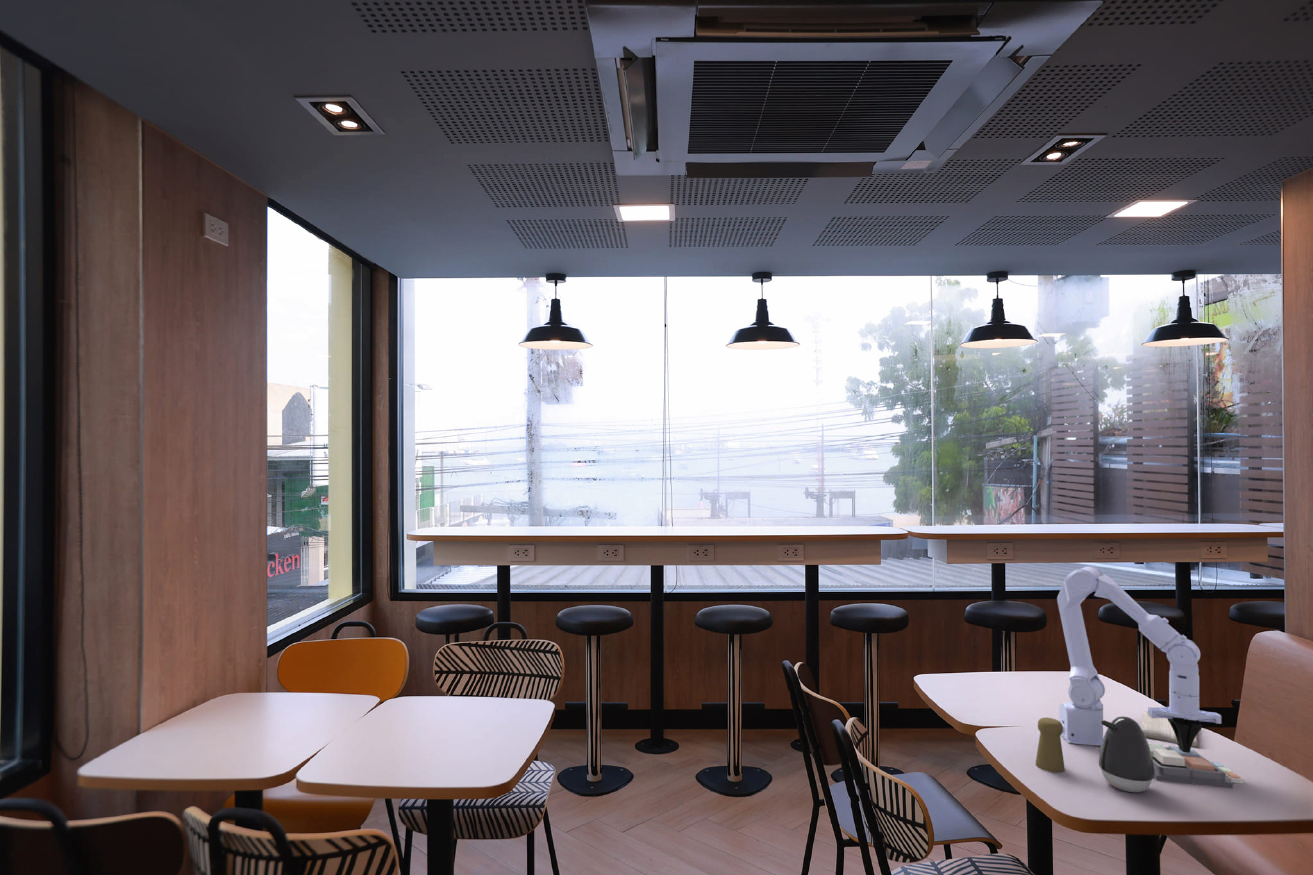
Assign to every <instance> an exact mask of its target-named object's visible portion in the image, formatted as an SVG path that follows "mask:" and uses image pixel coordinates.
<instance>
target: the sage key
mask: <svg viewBox="0 0 1313 875" xmlns="http://www.w3.org/2000/svg"><path fill="white" fill-rule="evenodd" d="M1148 744H1149V747H1150V751H1151V754H1152V755H1153V749H1164V750H1167V749H1166V748H1164V747H1165V746H1163V745H1162V744H1151V743H1148Z"/></svg>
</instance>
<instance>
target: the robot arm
mask: <svg viewBox="0 0 1313 875" xmlns="http://www.w3.org/2000/svg"><path fill="white" fill-rule="evenodd" d="M1093 592H1095V593H1094V594H1093V596H1094V597H1097V598H1103V599H1107V600H1109V601H1111V602H1112V603H1113V604H1115V605H1116V606H1117V607H1118V608H1119V609H1120V610H1122V611H1123V612H1124V613H1126V614H1127V615H1128V616H1129V617H1130V618H1131V619H1132V620H1134V621H1135V622H1136V623H1137V625H1138V631H1139V632H1140V633H1142V635H1143V636H1144V637H1145V638H1147V639H1148V640H1149V641H1150V642H1151V643H1153V645H1154V646H1155V647H1157V648H1158V649H1159V650H1160V651H1161V652H1163V653H1166V659H1167V661H1168V662H1169V671H1168V675H1169V677H1168V681H1169V682H1168V685H1169V686H1168V687H1169V688H1168V691H1169V692H1168V694H1169V696H1168V697H1169V700H1168V701H1169V703H1168V705H1169V706H1165V707H1164V706H1162V707H1161V706H1159V707H1149V706H1148V708H1147V712H1148V715H1149V716H1150V717H1151V718H1167V719H1168V721H1169V723H1170V725H1171V726H1172V728H1173V731H1174V733H1175V736H1176V738H1177V742H1178V746H1177V747H1179V749H1180V750H1181V751H1183V752H1190V749H1192V743H1193V741H1194V739H1195V737H1196V735H1198V734H1199V732H1200V731H1201V730H1202V726H1203V725H1202V723H1201V722H1207V723H1215V724H1218V725H1219V724H1220V725H1221V724H1222V715H1221V714H1219V713H1217V712H1213V711H1212V712H1211V711H1205V710H1200V675H1199V673H1200V671H1199V670H1200V669H1199V664H1198V662H1199V661H1200V659H1201V651H1200V649H1199V648H1200V647H1199V646H1197V645H1196V643H1195V642H1194V641H1193V640H1190V639H1188V638H1187V636H1185V635H1184V634H1182V635H1181V634H1180V633H1179V632H1178V631H1177V630H1176V629H1175V628H1173V627H1172V626H1171V625H1170V624H1169V620H1168V619H1167V618H1166V617H1163V618H1162V617H1161V616H1159V615H1157V614H1149V613H1148V612H1147V611H1146V610H1145V609H1144V608H1143V607H1142V606H1140V604H1138V602H1137V601H1136V600H1134V598H1132V597H1131V596H1130V595H1129V594H1128V593H1127V592H1126V591H1125V590H1124V589H1123V588H1122V587H1121V586H1120V585H1118V584H1117V583H1116V581H1114V580H1113V579H1112V578H1111V577H1110V576H1108V575H1107V574H1104V573H1103V571H1101V569H1100V568H1098V567H1096V566H1094V565H1093V566H1092V565H1086V566H1083V567H1081V568H1078V569H1075V570H1073V571H1071V573H1069V574H1067V576H1066V577H1064V580H1063V584H1062V586H1061V588H1060V590H1059V593H1058V595H1057V597H1056V600H1057V601H1056V602H1057V606H1058V607H1057V608H1058V610H1059V615H1060V621H1061V625H1062V629H1063V630H1062V631H1063V635H1064V640H1065V644H1066V645H1065V646H1066V649H1067V655H1068V660H1069V664H1070V672H1069V683H1070V684H1069V687H1068V697H1069V699H1070V702H1062V703H1060V705H1059V710H1058V711H1059V712H1058V717H1059V718H1058V719H1059V720H1058V721H1059V722H1061V724H1062V726H1063V733H1062V734H1061V735H1060V736H1062V737H1063V738H1064V739H1065V741H1066V742H1068V744H1074V745H1075V744H1076V745H1086V746H1097V747H1098V746H1099V747H1101V744H1102V741H1103V738H1104V725H1102V724H1101V721H1102V720H1104V704H1103V703H1102V700H1101V699H1102V698H1104V695H1105V694H1106V688H1105V685H1104V683H1103V682H1102V680H1101V679H1100V677H1099V674H1098V671H1097V669H1096V668H1095V666H1094V664H1093V659H1092V658H1093V657H1092V655H1091V648H1090V644H1089V639H1088V635H1087V630H1086V626H1085V625H1086V624H1085V621H1084V616H1083V611H1082V607H1081V604H1082V602H1084V601H1085V599H1086V598H1087V597H1088V596H1089V595H1090V594H1092V593H1093Z"/></svg>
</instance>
